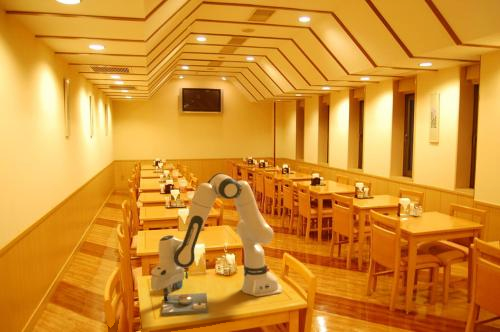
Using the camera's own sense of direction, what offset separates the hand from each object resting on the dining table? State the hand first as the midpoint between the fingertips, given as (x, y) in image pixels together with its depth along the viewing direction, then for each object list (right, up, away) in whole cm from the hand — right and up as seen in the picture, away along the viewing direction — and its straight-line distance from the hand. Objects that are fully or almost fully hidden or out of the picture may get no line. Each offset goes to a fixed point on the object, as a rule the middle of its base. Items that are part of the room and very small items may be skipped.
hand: (168, 292), depth 210 cm
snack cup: (0, -3, +20) cm, 20 cm away
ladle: (+5, -4, -3) cm, 7 cm away
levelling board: (+9, -5, -3) cm, 11 cm away
